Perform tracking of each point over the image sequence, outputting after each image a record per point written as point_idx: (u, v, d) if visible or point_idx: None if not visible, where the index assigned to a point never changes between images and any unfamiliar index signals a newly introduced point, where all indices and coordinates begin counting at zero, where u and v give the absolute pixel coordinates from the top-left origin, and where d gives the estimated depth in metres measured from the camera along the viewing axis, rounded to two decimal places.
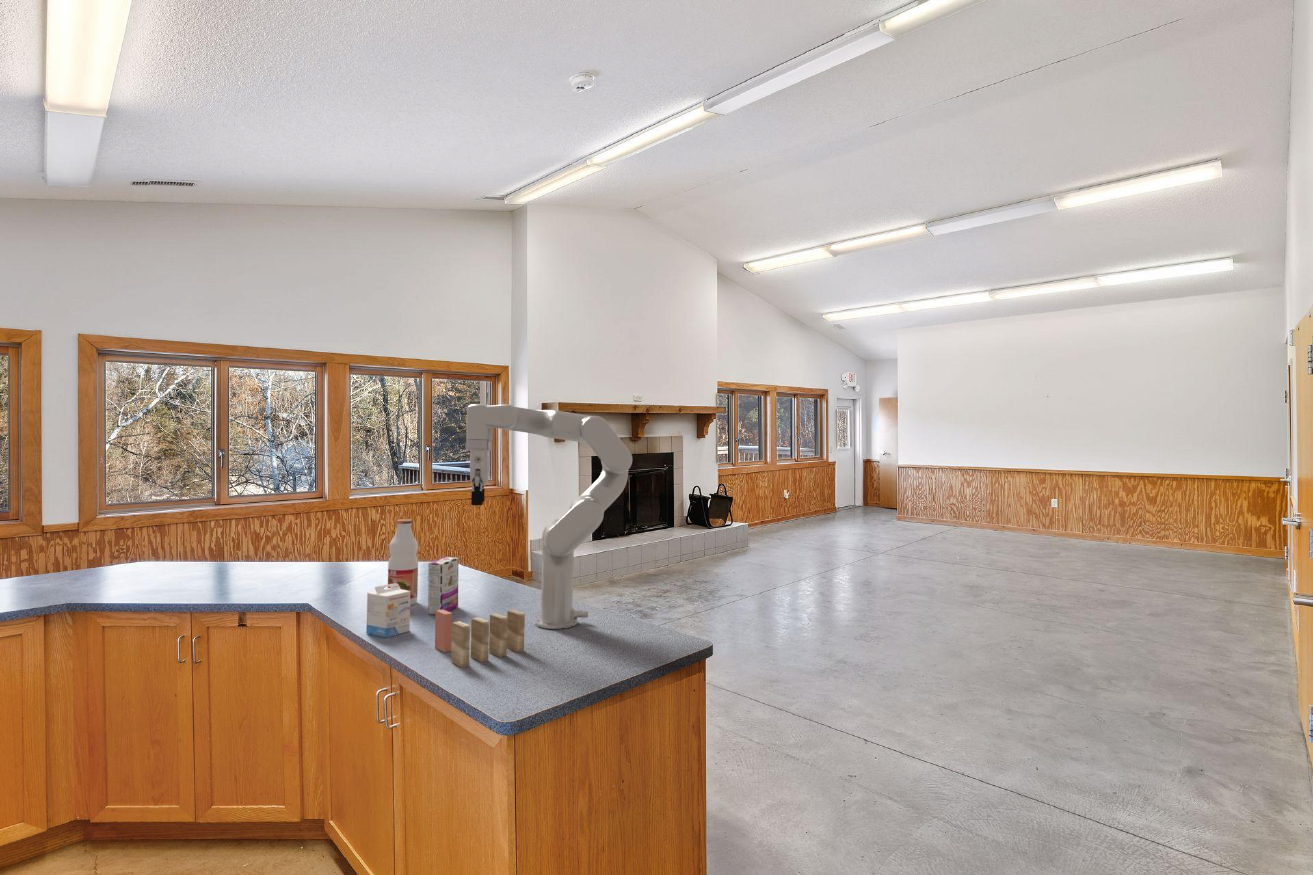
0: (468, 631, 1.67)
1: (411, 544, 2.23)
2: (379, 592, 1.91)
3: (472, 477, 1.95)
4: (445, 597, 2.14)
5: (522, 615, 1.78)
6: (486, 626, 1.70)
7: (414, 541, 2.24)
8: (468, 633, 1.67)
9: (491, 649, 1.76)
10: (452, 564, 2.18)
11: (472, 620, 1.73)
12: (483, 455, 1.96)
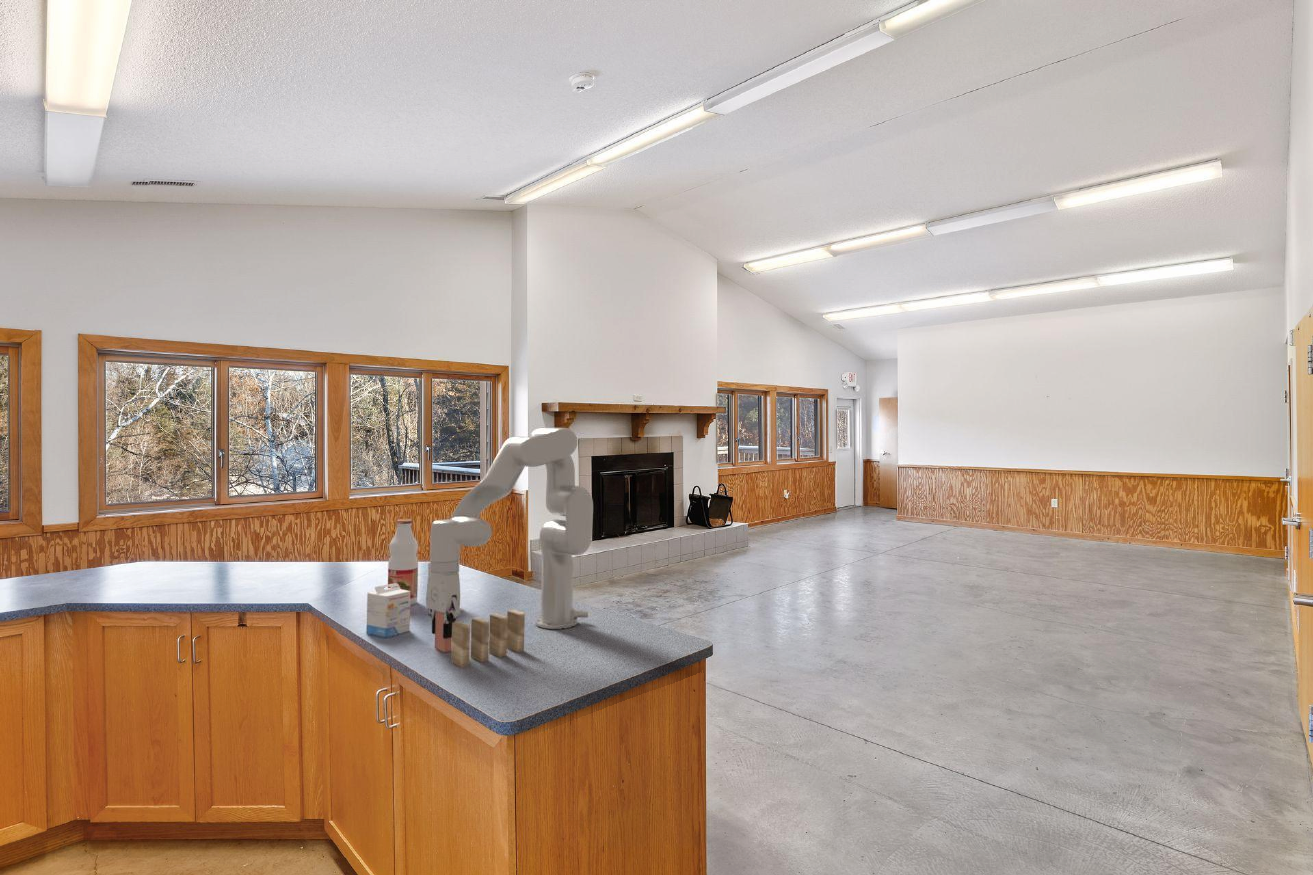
0: (468, 631, 1.67)
1: (411, 544, 2.23)
2: (379, 592, 1.91)
3: None
4: None
5: (522, 615, 1.78)
6: (486, 626, 1.70)
7: (414, 541, 2.24)
8: (468, 633, 1.67)
9: (491, 649, 1.76)
10: None
11: (472, 620, 1.73)
12: None
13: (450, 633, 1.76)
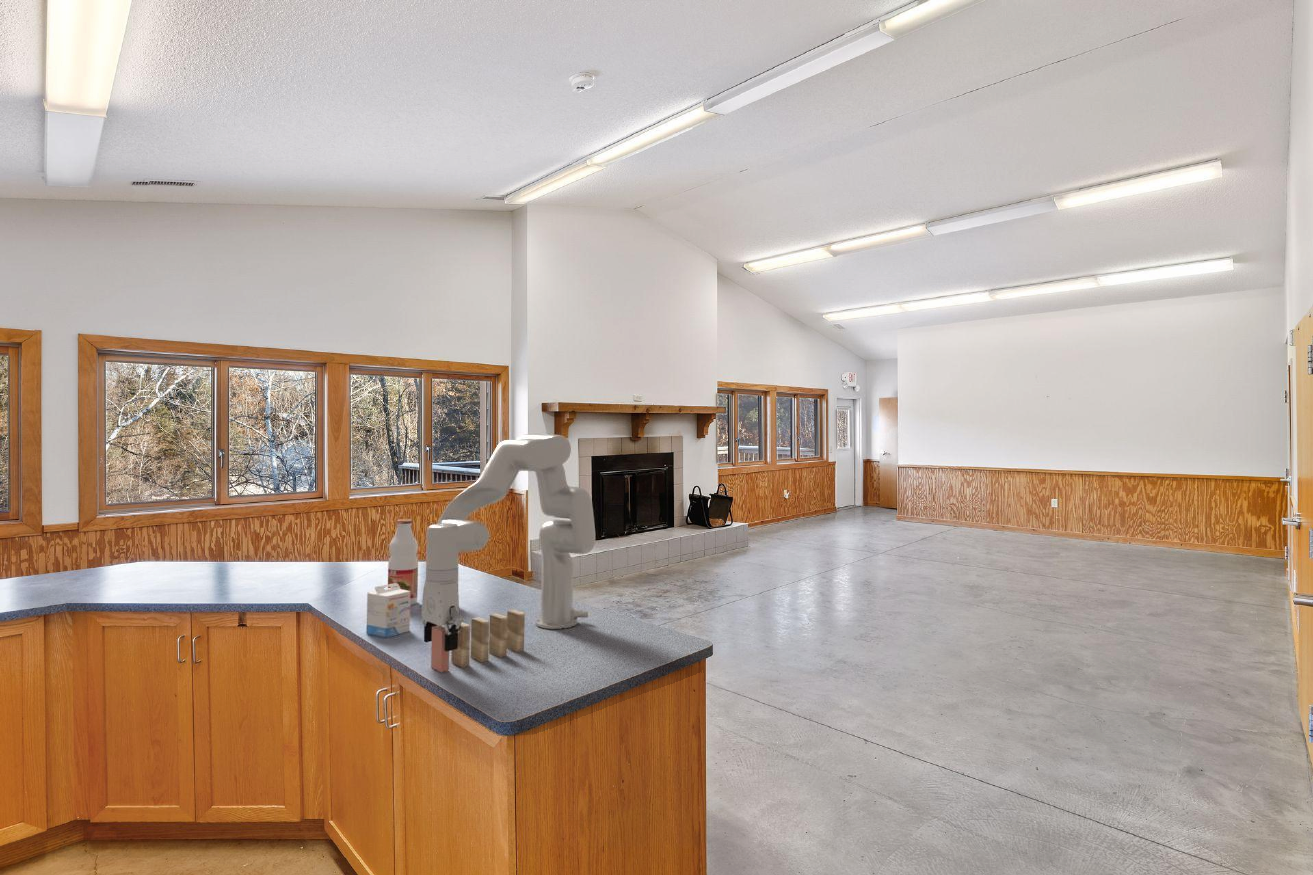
0: (468, 631, 1.67)
1: (411, 544, 2.23)
2: (379, 592, 1.91)
3: None
4: None
5: (522, 615, 1.78)
6: (486, 626, 1.70)
7: (414, 541, 2.24)
8: (468, 633, 1.67)
9: (491, 649, 1.76)
10: None
11: (472, 620, 1.73)
12: None
13: (452, 645, 1.60)
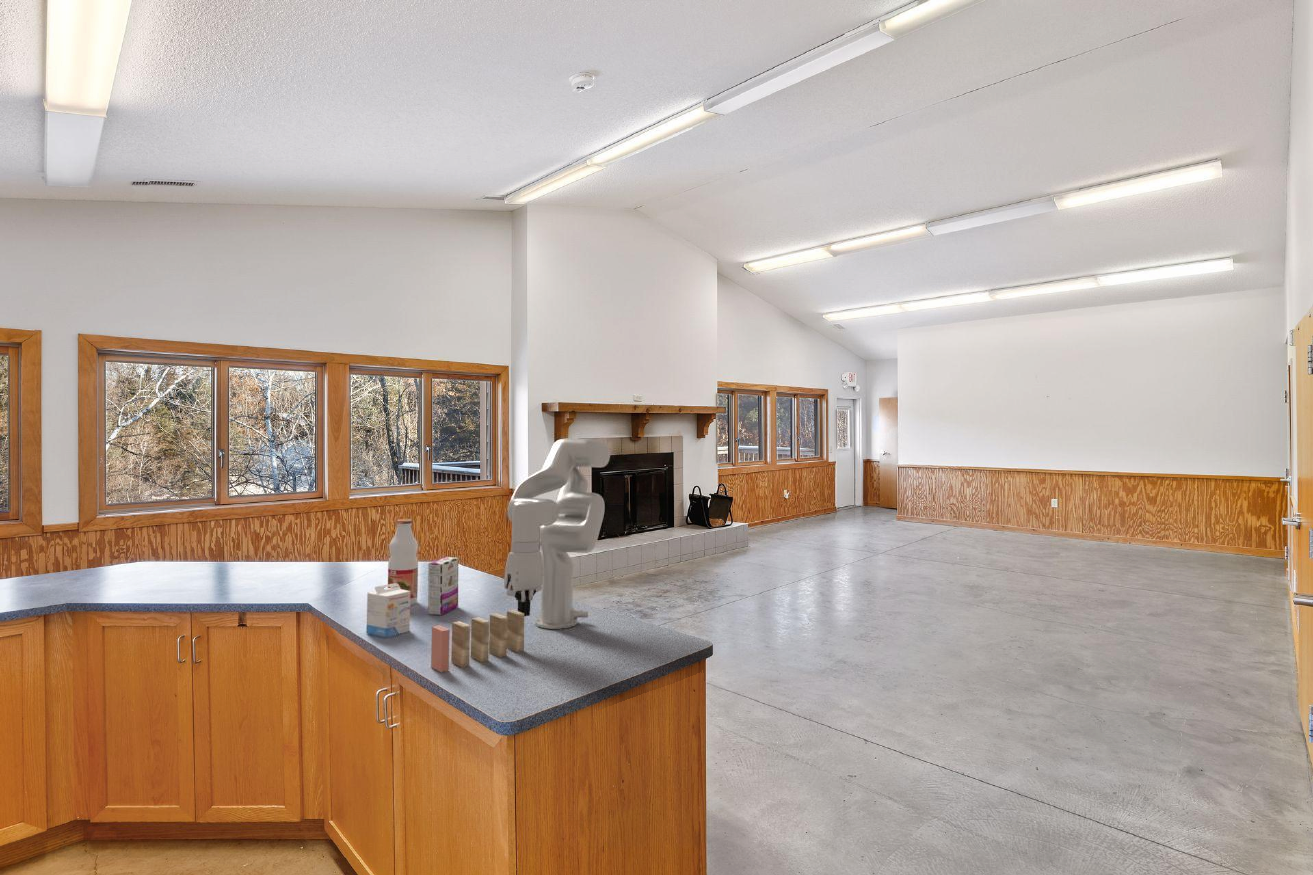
0: (468, 631, 1.67)
1: (411, 544, 2.23)
2: (379, 592, 1.91)
3: None
4: (445, 597, 2.14)
5: (521, 615, 1.78)
6: (486, 626, 1.70)
7: (414, 541, 2.24)
8: (468, 633, 1.67)
9: (491, 649, 1.76)
10: (452, 564, 2.18)
11: (472, 620, 1.73)
12: None
13: (519, 611, 1.81)
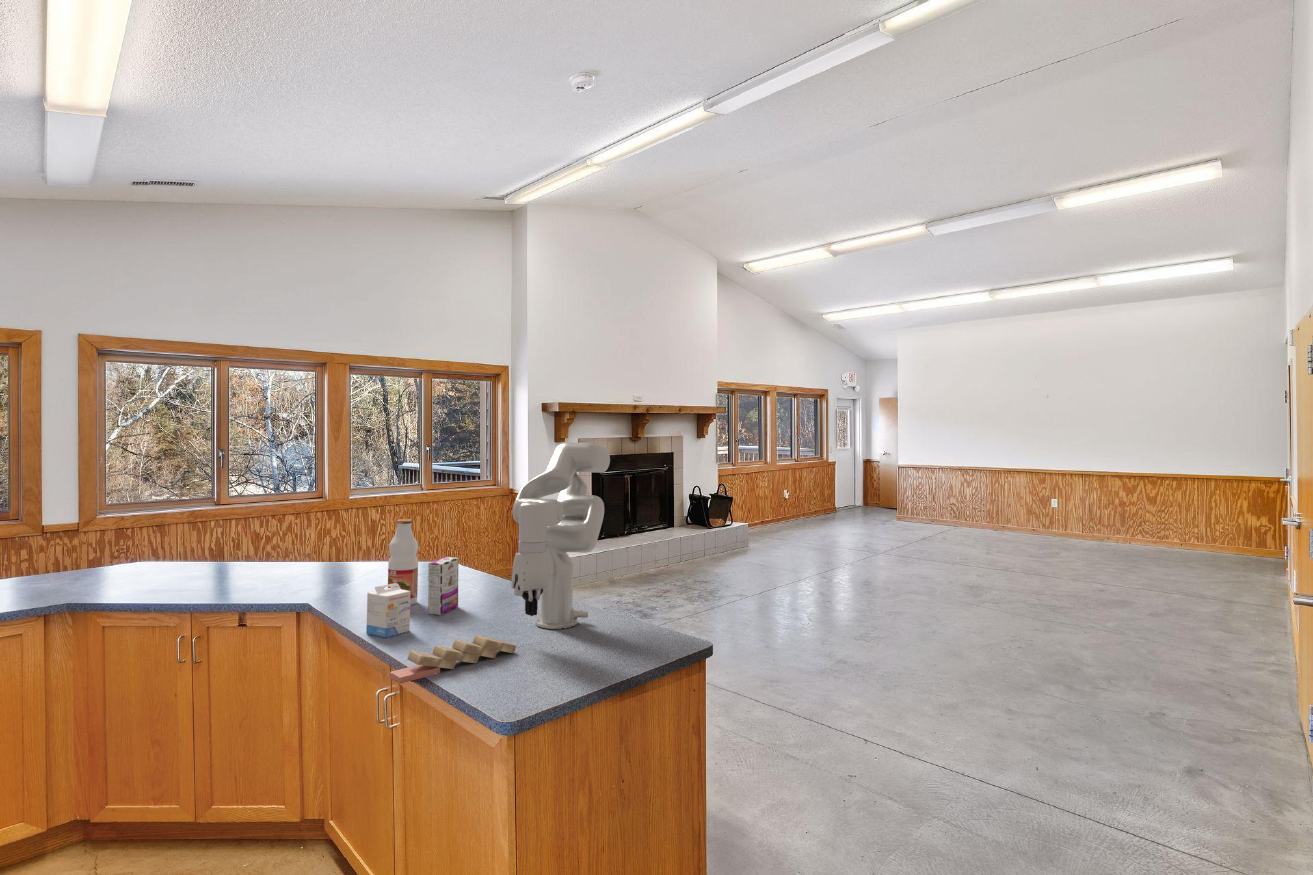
0: (425, 658, 1.58)
1: (411, 544, 2.23)
2: (379, 592, 1.91)
3: None
4: (445, 597, 2.14)
5: (485, 642, 1.71)
6: (448, 653, 1.63)
7: (414, 541, 2.24)
8: (426, 658, 1.59)
9: None
10: (452, 564, 2.18)
11: None
12: None
13: (526, 610, 1.83)
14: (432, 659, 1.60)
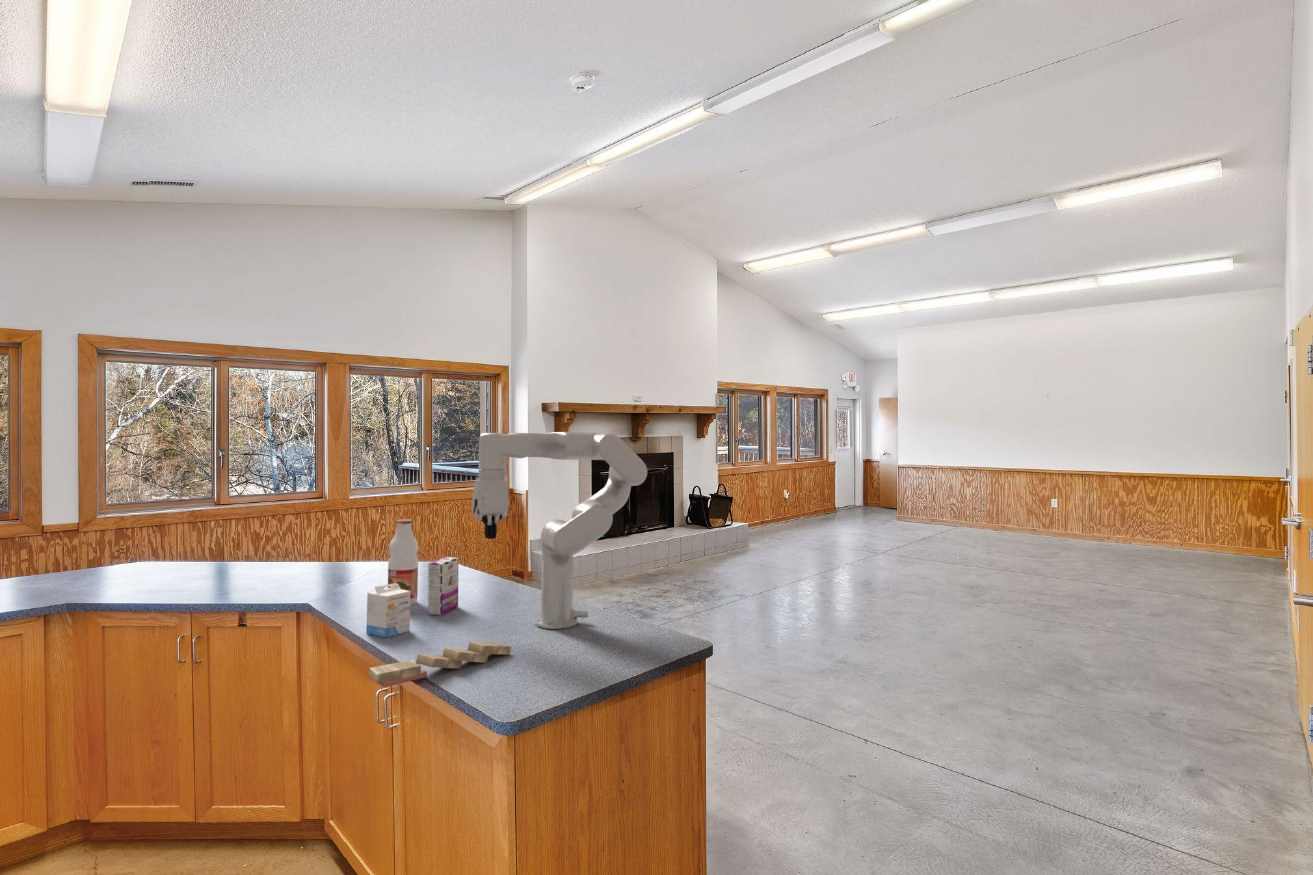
0: (383, 674, 1.52)
1: (411, 544, 2.23)
2: (379, 592, 1.91)
3: None
4: (445, 597, 2.14)
5: (483, 648, 1.69)
6: (436, 661, 1.58)
7: (414, 541, 2.24)
8: (385, 674, 1.52)
9: None
10: (452, 564, 2.18)
11: (418, 662, 1.59)
12: None
13: (486, 534, 1.95)
14: (392, 673, 1.53)
